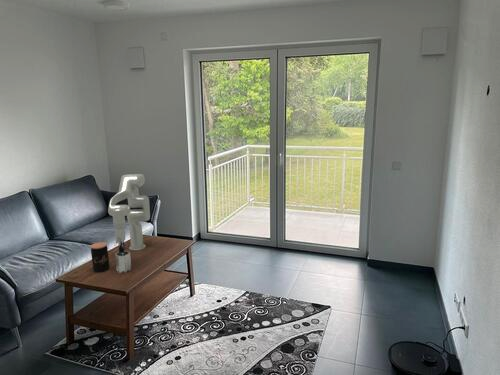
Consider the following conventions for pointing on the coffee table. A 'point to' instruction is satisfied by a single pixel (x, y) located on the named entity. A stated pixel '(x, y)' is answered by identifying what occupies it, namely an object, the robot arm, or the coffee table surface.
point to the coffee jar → (100, 256)
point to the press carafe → (123, 262)
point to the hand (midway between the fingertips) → (122, 251)
